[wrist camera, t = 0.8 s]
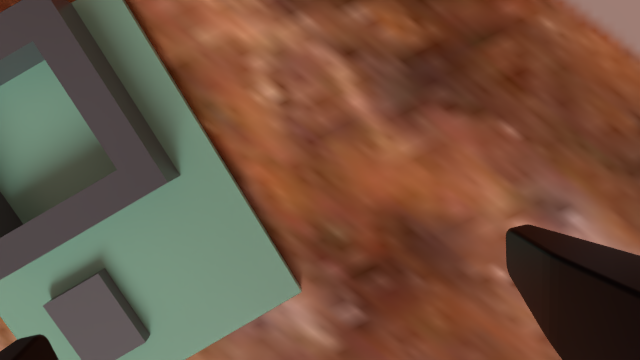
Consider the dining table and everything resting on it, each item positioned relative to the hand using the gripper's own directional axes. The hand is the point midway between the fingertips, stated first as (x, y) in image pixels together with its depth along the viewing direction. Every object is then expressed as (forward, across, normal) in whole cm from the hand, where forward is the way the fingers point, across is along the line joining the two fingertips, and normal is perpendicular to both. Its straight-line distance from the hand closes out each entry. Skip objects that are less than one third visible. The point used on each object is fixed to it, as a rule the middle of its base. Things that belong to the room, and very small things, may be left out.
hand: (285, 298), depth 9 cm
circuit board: (+14, +9, +3) cm, 17 cm away
